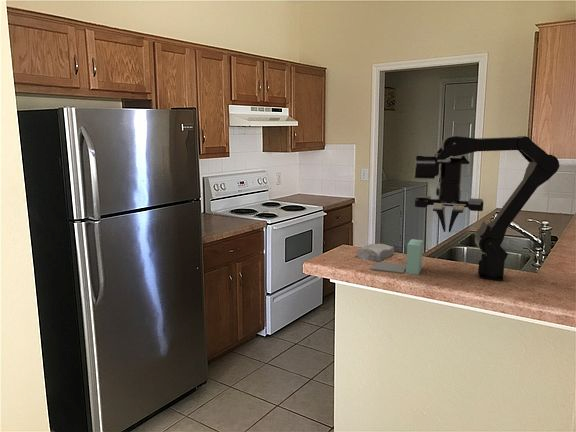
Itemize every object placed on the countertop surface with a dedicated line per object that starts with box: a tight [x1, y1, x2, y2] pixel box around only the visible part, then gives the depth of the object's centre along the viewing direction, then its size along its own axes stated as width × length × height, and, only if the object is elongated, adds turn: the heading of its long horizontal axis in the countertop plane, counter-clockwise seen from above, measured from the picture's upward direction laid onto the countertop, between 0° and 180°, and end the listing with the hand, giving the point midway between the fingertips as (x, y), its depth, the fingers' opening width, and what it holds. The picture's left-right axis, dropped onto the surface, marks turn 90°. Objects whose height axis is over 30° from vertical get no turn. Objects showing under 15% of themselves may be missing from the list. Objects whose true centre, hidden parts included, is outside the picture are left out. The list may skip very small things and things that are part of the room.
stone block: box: [356, 243, 395, 262], centre depth 164 cm, size 12×5×10 cm
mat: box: [370, 261, 406, 274], centre depth 150 cm, size 10×8×1 cm
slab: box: [405, 238, 424, 275], centre depth 147 cm, size 4×7×9 cm, turn 156°
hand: (447, 231), depth 141 cm, fingers closed
